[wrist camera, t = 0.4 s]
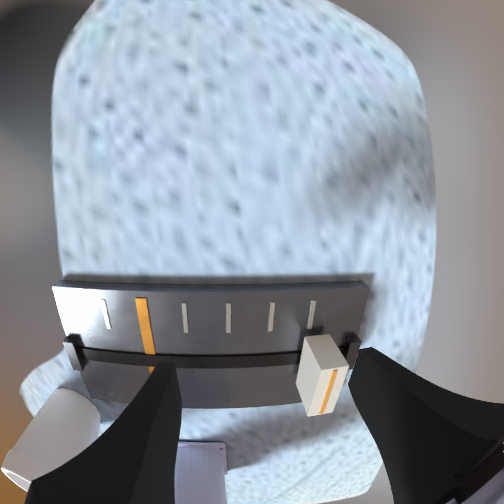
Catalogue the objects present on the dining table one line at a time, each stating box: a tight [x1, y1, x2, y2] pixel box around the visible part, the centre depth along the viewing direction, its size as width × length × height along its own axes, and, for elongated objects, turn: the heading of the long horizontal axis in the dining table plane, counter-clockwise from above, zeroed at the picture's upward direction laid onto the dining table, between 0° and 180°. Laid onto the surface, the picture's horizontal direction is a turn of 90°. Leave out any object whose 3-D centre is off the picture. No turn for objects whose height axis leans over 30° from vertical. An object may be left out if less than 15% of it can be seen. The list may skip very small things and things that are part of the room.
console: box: [53, 281, 369, 409], centre depth 20 cm, size 12×24×2 cm, turn 88°
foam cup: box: [1, 388, 101, 492], centre depth 16 cm, size 10×9×13 cm
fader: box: [296, 334, 349, 417], centre depth 18 cm, size 5×2×4 cm, turn 178°
